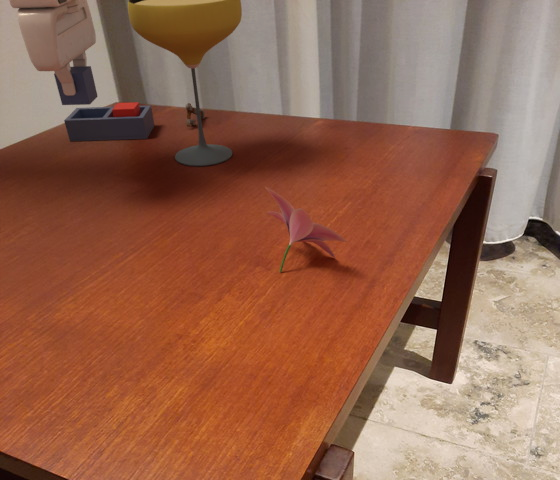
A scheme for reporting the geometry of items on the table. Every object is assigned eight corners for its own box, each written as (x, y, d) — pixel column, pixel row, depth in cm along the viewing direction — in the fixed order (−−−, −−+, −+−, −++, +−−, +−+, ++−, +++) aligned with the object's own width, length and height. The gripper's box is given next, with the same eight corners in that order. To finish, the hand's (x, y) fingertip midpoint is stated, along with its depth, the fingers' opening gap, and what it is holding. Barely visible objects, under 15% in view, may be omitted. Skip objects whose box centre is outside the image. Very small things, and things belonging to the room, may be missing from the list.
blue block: (62, 105, 88) (53, 73, 85) (70, 97, 91) (63, 66, 88) (90, 104, 88) (82, 73, 85) (97, 96, 91) (90, 66, 88)
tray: (146, 138, 113) (142, 117, 110) (69, 141, 113) (63, 120, 111) (154, 125, 119) (151, 105, 117) (81, 128, 120) (76, 107, 117)
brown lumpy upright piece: (182, 125, 115) (182, 102, 114) (196, 130, 123) (196, 108, 121) (190, 126, 115) (190, 102, 114) (204, 130, 122) (204, 108, 121)
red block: (117, 132, 114) (112, 109, 111) (122, 125, 117) (117, 102, 114) (138, 131, 114) (134, 108, 111) (143, 124, 117) (138, 102, 114)
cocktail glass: (233, 177, 96) (217, 6, 79) (139, 170, 100) (105, 6, 83) (263, 142, 109) (254, -12, 92) (178, 137, 113) (155, -11, 96)
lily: (347, 291, 69) (370, 214, 67) (261, 272, 65) (281, 188, 62) (310, 274, 80) (328, 206, 77) (234, 256, 75) (250, 184, 73)
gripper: (53, -24, 87) (77, 73, 96) (1, -6, 72) (35, 108, 81) (93, -25, 87) (112, 72, 96) (49, -7, 72) (77, 107, 81)
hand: (77, 89), depth 88 cm, fingers closed on blue block, 4 cm apart
